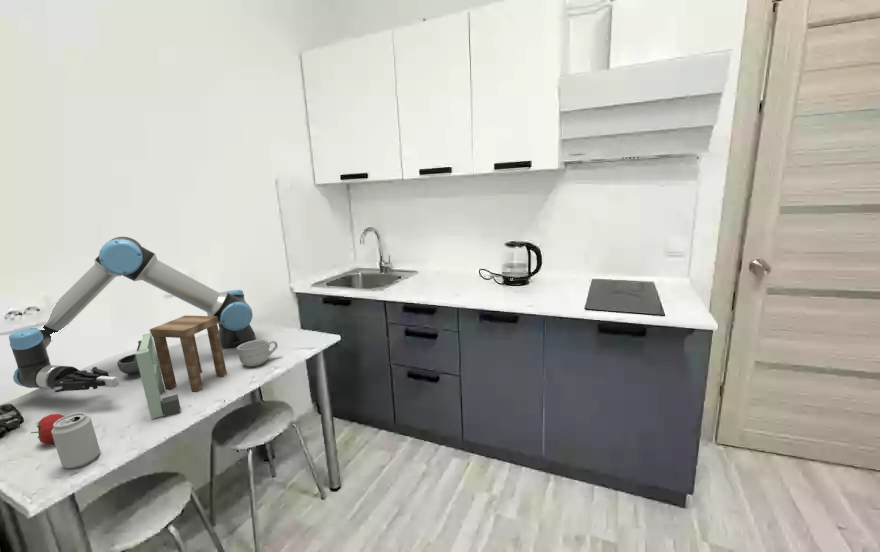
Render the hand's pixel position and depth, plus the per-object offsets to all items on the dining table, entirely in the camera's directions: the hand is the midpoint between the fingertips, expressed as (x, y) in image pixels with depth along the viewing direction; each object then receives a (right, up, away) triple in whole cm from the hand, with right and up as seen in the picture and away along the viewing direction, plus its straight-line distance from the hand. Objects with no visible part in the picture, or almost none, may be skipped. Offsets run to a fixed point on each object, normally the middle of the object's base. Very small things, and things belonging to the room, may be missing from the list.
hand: (115, 382), depth 127 cm
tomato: (-6, -13, -13) cm, 20 cm away
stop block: (+19, -9, -2) cm, 21 cm away
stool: (+15, -4, +17) cm, 23 cm away
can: (+9, -14, -23) cm, 28 cm away
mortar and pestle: (-12, -4, +26) cm, 29 cm away
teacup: (+32, -1, +30) cm, 44 cm away
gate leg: (+11, -7, +3) cm, 14 cm away
